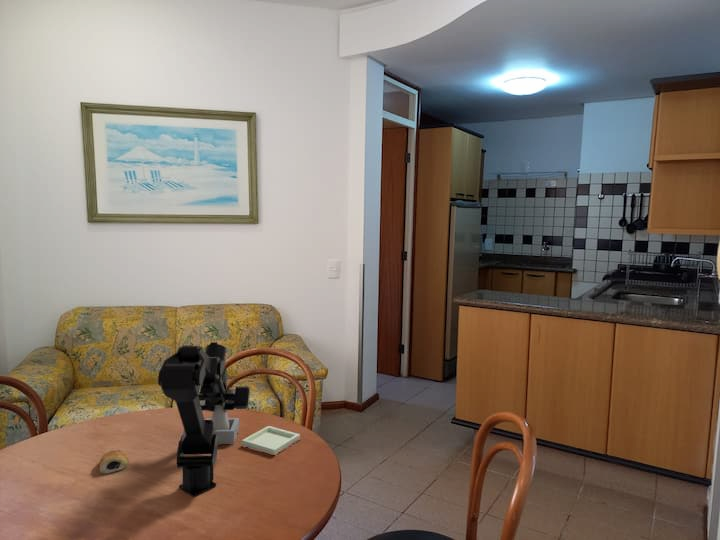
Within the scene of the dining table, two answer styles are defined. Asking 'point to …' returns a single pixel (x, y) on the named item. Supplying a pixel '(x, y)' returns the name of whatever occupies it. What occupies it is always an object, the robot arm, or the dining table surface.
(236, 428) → the holder
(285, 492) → the dining table surface
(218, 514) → the dining table surface
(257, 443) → the tray
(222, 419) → the salt shaker
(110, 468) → the pastry
